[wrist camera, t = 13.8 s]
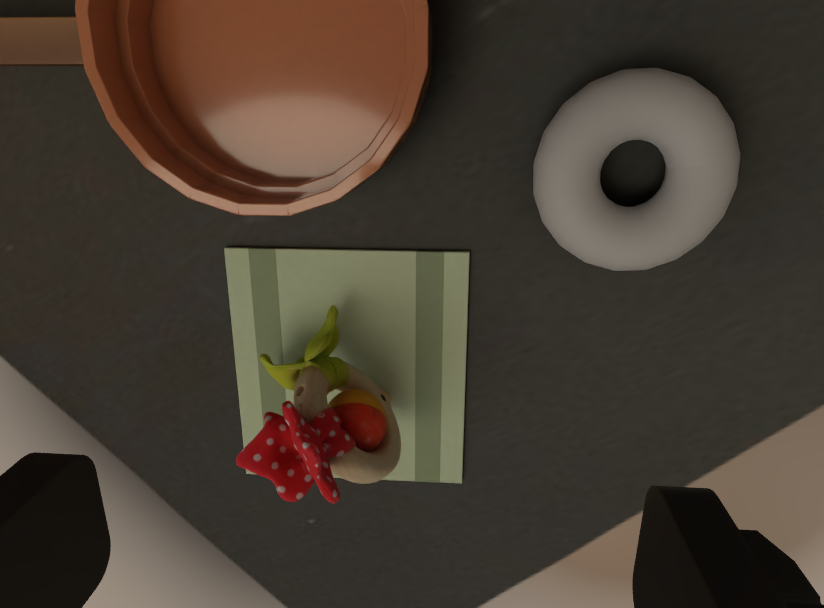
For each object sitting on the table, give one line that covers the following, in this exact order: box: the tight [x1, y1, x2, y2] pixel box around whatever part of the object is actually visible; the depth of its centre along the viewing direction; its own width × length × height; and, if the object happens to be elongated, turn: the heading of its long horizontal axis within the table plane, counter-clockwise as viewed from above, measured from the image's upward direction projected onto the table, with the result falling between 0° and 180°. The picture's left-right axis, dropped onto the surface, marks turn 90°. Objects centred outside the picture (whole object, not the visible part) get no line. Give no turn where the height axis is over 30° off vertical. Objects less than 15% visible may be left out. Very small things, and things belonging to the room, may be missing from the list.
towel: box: [224, 247, 470, 483], centre depth 36 cm, size 15×14×1 cm
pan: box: [75, 0, 432, 216], centre depth 28 cm, size 16×16×5 cm
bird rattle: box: [236, 305, 401, 503], centre depth 31 cm, size 6×11×9 cm
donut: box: [533, 67, 741, 271], centre depth 30 cm, size 10×4×10 cm
